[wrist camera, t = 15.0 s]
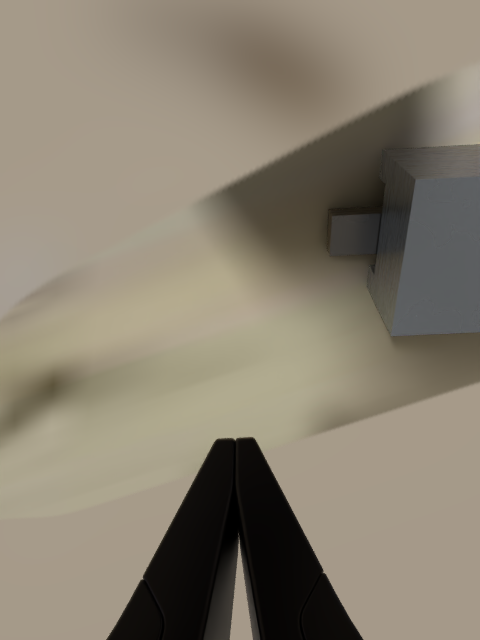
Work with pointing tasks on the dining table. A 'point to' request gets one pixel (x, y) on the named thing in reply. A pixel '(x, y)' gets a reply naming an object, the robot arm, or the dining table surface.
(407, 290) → the block
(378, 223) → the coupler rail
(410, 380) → the dining table surface
